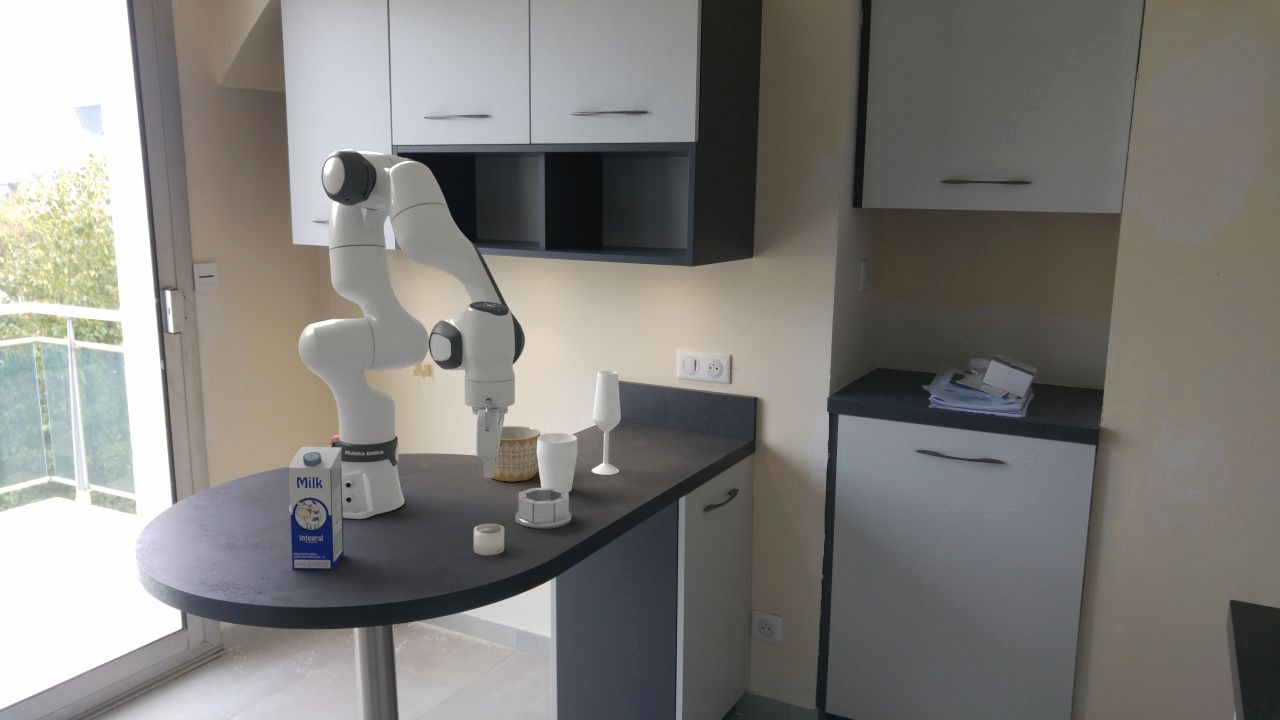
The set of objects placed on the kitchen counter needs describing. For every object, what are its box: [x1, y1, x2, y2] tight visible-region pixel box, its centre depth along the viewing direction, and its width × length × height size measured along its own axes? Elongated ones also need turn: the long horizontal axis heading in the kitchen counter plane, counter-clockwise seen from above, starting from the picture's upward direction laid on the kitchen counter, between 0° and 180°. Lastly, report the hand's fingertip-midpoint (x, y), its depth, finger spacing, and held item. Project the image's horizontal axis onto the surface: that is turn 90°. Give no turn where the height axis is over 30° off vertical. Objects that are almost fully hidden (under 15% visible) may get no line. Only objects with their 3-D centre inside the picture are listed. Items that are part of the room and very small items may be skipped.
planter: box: [492, 425, 541, 483], centre depth 210 cm, size 13×13×10 cm
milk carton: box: [287, 446, 345, 571], centre depth 156 cm, size 7×7×20 cm
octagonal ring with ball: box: [514, 487, 572, 530], centre depth 182 cm, size 11×11×5 cm
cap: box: [473, 523, 505, 556], centre depth 165 cm, size 6×6×4 cm
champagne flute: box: [591, 370, 622, 476], centre depth 215 cm, size 7×7×24 cm
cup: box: [537, 432, 578, 493], centre depth 200 cm, size 9×9×12 cm
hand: (490, 469), depth 163 cm, fingers open, 8 cm apart
